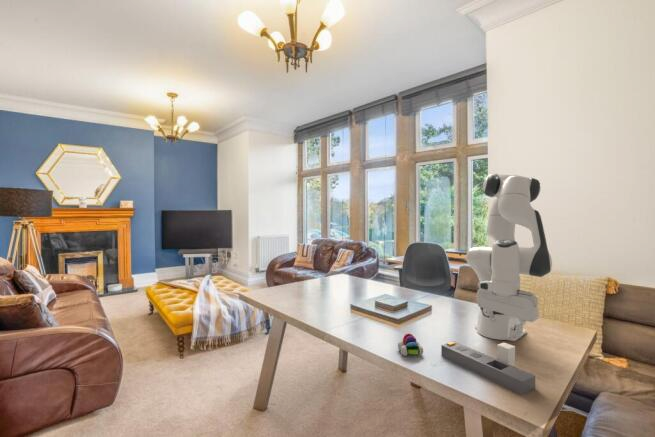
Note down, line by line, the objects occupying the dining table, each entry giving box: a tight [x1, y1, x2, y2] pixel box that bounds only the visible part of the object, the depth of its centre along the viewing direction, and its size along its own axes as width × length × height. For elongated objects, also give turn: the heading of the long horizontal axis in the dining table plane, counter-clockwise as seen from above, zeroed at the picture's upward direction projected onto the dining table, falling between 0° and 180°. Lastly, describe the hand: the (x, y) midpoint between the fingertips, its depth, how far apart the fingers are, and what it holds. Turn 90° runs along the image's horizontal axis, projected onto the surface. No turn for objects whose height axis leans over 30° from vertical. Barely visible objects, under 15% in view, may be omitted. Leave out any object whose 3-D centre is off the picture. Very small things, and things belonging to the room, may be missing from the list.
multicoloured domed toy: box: [397, 333, 424, 357], centre depth 126 cm, size 8×10×7 cm
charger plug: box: [496, 342, 516, 367], centre depth 112 cm, size 4×4×9 cm
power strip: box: [440, 340, 536, 396], centre depth 111 cm, size 7×30×6 cm, turn 30°
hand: (505, 326), depth 112 cm, fingers open, 8 cm apart
